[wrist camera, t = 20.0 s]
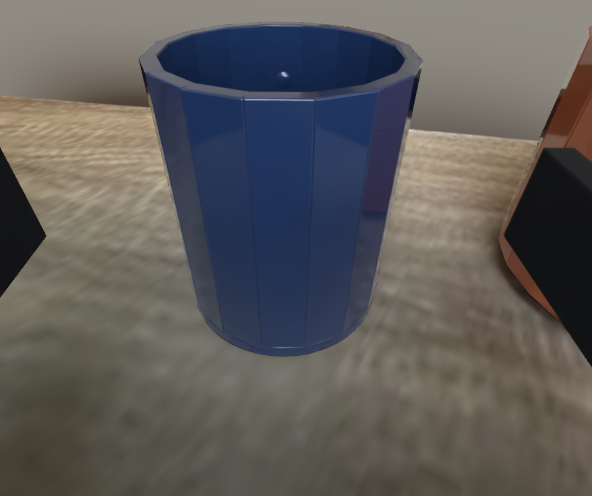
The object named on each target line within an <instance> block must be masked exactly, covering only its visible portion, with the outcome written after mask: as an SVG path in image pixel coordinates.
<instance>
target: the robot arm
mask: <svg viewBox="0 0 592 496" xmlns="http://www.w3.org/2000/svg"><path fill="white" fill-rule="evenodd" d="M503 236H504V237H505V239H506V240H507V242H508V243H509V245H510V246H511V248H512V249H513V251H514V252H515V254H516V255H517V257H518V258H519V260H520V261H521V263H522V264H523V266H524V267H525V269H526V270H527V272H528V273H529V275H530V276H531V278H532V279H533V281H534V282H535V284H536V285H537V286H538V288H539V289H540V291H541V292H542V294H543V295H544V297H545V298H546V300H547V301H548V303H549V304H550V306H551V307H552V309H553V310H554V312H555V313H556V315H557V316H558V318H559V319H560V321H561V322H562V324H563V325H564V327H565V328H566V330H567V331H568V333H569V334H570V335H571V337H572V338H573V340H574V341H575V343H576V344H577V346H578V347H579V349H580V350H581V352H582V353H583V355H584V356H585V358H586V359H587V361H588V362H589V364H590V365H591V367H592V162H591V161H590V160H589V159H588V158H586V157H585V156H584V155H583V154H582V153H580V152H579V151H578V150H577V149H575V148H543V150H542V152H541V154H540V157H539V159H538V161H537V163H536V165H535V167H534V170H533V172H532V174H531V176H530V178H529V180H528V183H527V185H526V187H525V189H524V191H523V193H522V196H521V198H520V200H519V202H518V204H517V207H516V209H515V211H514V213H513V215H512V217H511V220H510V222H509V224H508V226H507V228H506V230H505V233H504V235H503ZM45 237H46V234H45V232H44V230H43V228H42V226H41V225H40V223H39V221H38V219H37V217H36V215H35V213H34V211H33V209H32V207H31V205H30V203H29V202H28V200H27V198H26V196H25V194H24V192H23V190H22V188H21V186H20V184H19V182H18V180H17V179H16V177H15V175H14V173H13V171H12V169H11V167H10V165H9V163H8V161H7V159H6V157H5V156H4V154H3V152H2V150H1V148H0V297H1V296H2V295H3V293H4V292H5V291H6V289H7V288H8V287H9V285H10V284H11V283H12V281H13V280H14V279H15V277H16V276H17V275H18V273H19V272H20V271H21V269H22V268H23V267H24V265H25V264H26V263H27V261H28V260H29V259H30V257H31V256H32V255H33V253H34V252H35V251H36V249H37V248H38V247H39V245H40V244H41V243H42V241H43V240H44V239H45Z"/></svg>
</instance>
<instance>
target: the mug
mask: <svg viewBox="0 0 592 496" xmlns="http://www.w3.org/2000/svg"><path fill="white" fill-rule="evenodd" d="M139 62H140V66H141V70H142V75H143V79H144V83H145V88H146V92H147V96H148V100H149V105H150V109H151V113H152V118H153V122H154V126H155V130H156V135H157V139H158V143H159V147H160V152H161V156H162V160H163V165H164V169H165V173H166V177H167V182H168V186H169V190H170V195H171V199H172V203H173V207H174V212H175V216H176V220H177V224H178V229H179V233H180V237H181V242H182V246H183V250H184V254H185V259H186V263H187V267H188V271H189V276H190V280H191V284H192V288H193V291H194V294H195V298H196V302H197V306H198V309H199V311H200V314H201V316H202V317H203V319H204V320H205V322H206V324H207V325H208V326H209V327H210V328H211V329H212V330H213V331H214V332H215V333H216V334H217V335H219V336H220V337H221V338H222V339H224V340H226V341H227V342H229V343H230V344H232V345H234V346H237V347H239V348H241V349H243V350H247V351H250V352H253V353H257V354H263V355H269V356H298V355H304V354H309V353H313V352H316V351H320V350H323V349H325V348H328V347H330V346H332V345H334V344H336V343H338V342H339V341H341V340H343V339H345V338H346V337H347V336H348V335H350V334H351V333H352V332H353V331H354V330H355V329H356V328H357V327H358V326H359V325H360V324H361V322H362V321H363V319H364V318H365V316H366V315H367V313H368V310H369V308H370V305H371V301H372V297H373V293H374V290H375V287H376V283H377V279H378V274H379V269H380V264H381V260H382V255H383V250H384V245H385V240H386V236H387V231H388V226H389V221H390V217H391V212H392V207H393V202H394V198H395V193H396V188H397V183H398V178H399V174H400V169H401V164H402V159H403V155H404V150H405V145H406V140H407V136H408V131H409V126H410V121H411V116H412V112H413V106H414V102H415V97H416V93H417V88H418V83H419V78H420V74H421V69H422V64H423V60H422V58H421V57H420V56H419V55H418V54H417V53H416V52H415V51H414V49H412V47H411V46H410V45H408V44H405V43H403V42H400V41H398V40H395V39H393V38H390V37H388V36H385V35H383V34H380V33H374V32H370V31H365V30H360V29H355V28H350V27H344V26H336V25H325V24H315V23H303V22H256V23H244V24H230V25H219V26H214V27H208V28H202V29H197V30H191V31H186V32H182V33H180V34H177V35H174V36H172V37H168V38H166V39H163V40H160V41H157V42H155V43H153V44H152V45H151V46H150V47H149V48H148V49H147V50H146V51H145V52H144V53H143V54H142V55H140V57H139Z"/></svg>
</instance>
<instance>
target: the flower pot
mask: <svg viewBox="0 0 592 496" xmlns="http://www.w3.org/2000/svg"><path fill="white" fill-rule="evenodd" d="M543 148H575V149H577V150H578V151H579V152H580V153H582V154H583V155H584V156H585V157H586V158H588V159H589V160H590V161H591V162H592V26H591V27H589V28H588V30H587V33H586V35H585V37H584V39H583V42H582V44H581V46H580V48H579V51H578V53H577V55H576V57H575V60H574V62H573V64H572V66H571V69H570V71H569V73H568V75H567V78H566V80H565V82H564V84H563V87H562V89H561V91H560V94H559V95H558V98H557V100H556V102H555V105H554V107H553V109H552V111H551V113H550V116H549V118H548V120H547V123H546V125H545V127H544V129H543V132H542V134H541V136H540V138H539V141H538V143H537V145H536V147H535V150H534V152H533V154H532V156H531V158H530V161H529V163H528V165H527V167H526V170H525V172H524V174H523V176H522V179H521V181H520V183H519V185H518V188H517V190H516V192H515V194H514V197H513V199H512V201H511V203H510V206H509V208H508V210H507V212H506V215H505V217H504V219H503V223H502V227H501V230H500V234H499V243H500V246H501V249H502V252H503V256H504V259H505V262H506V264H507V266H508V267H509V269H510V270H511V271H512V272H513V274H514V275H515V276H516V278H517V279H518V280H519V281H520V283H521V284H522V285H523V287H524V288H525V289H526V291H527V292H528V293H529V294H530V295H531V296H532V297H534V298H535V299H536V301H537V302H538V303H539V304H540V305H542V306H543V307H544V308H545V309H546V310H547V311H548V312H549V313H550V314H552V315H553V316H554V317H555V318H557V319H558V320H559V321H560V319H559V318H558V316H557V315H556V313H555V312H554V310H553V309H552V307H551V306H550V304H549V303H548V301H547V300H546V298H545V297H544V295H543V294H542V292H541V291H540V289H539V288H538V286H537V285H536V284H535V282H534V281H533V279H532V278H531V276H530V275H529V273H528V272H527V270H526V269H525V267H524V266H523V264H522V263H521V261H520V260H519V258H518V257H517V255H516V254H515V252H514V251H513V249H512V248H511V246H510V245H509V243H508V242H507V240H506V239H505V237H504V236H503V235H504V233H505V230H506V228H507V226H508V224H509V222H510V220H511V217H512V215H513V213H514V211H515V209H516V207H517V204H518V202H519V200H520V198H521V196H522V193H523V191H524V189H525V187H526V185H527V183H528V180H529V178H530V176H531V174H532V172H533V170H534V167H535V165H536V163H537V161H538V159H539V157H540V154H541V152H542V150H543ZM560 322H561V321H560Z"/></svg>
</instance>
